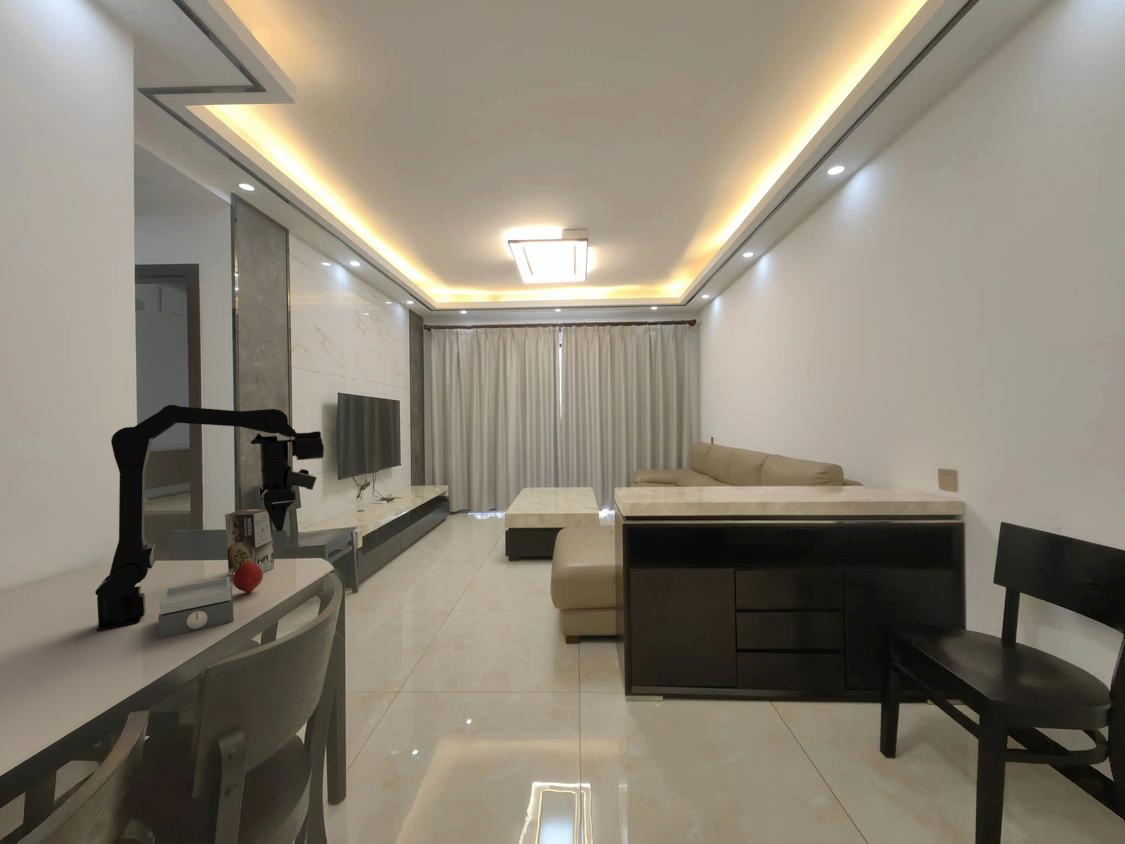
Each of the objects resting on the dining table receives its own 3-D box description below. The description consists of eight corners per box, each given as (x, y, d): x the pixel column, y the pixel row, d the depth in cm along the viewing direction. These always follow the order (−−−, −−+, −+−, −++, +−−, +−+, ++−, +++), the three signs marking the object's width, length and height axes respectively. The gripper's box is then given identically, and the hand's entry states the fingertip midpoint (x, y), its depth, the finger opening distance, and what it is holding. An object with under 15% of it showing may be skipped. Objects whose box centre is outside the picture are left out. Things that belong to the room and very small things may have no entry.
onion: (239, 599, 109) (237, 564, 109) (229, 594, 112) (228, 560, 112) (267, 591, 113) (266, 557, 113) (257, 586, 117) (256, 553, 117)
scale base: (158, 639, 90) (157, 618, 90) (165, 618, 100) (164, 599, 99) (233, 622, 96) (232, 602, 96) (232, 603, 106) (231, 585, 106)
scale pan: (160, 614, 90) (159, 605, 90) (165, 597, 99) (165, 588, 99) (231, 599, 97) (230, 590, 97) (230, 584, 106) (229, 576, 106)
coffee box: (275, 567, 132) (272, 508, 132) (256, 575, 126) (253, 513, 125) (247, 566, 134) (244, 508, 133) (226, 574, 127) (223, 513, 127)
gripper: (318, 461, 111) (321, 528, 111) (307, 457, 126) (310, 516, 127) (262, 466, 105) (265, 537, 105) (257, 460, 120) (260, 523, 120)
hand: (278, 527), depth 114 cm, fingers open, 9 cm apart
